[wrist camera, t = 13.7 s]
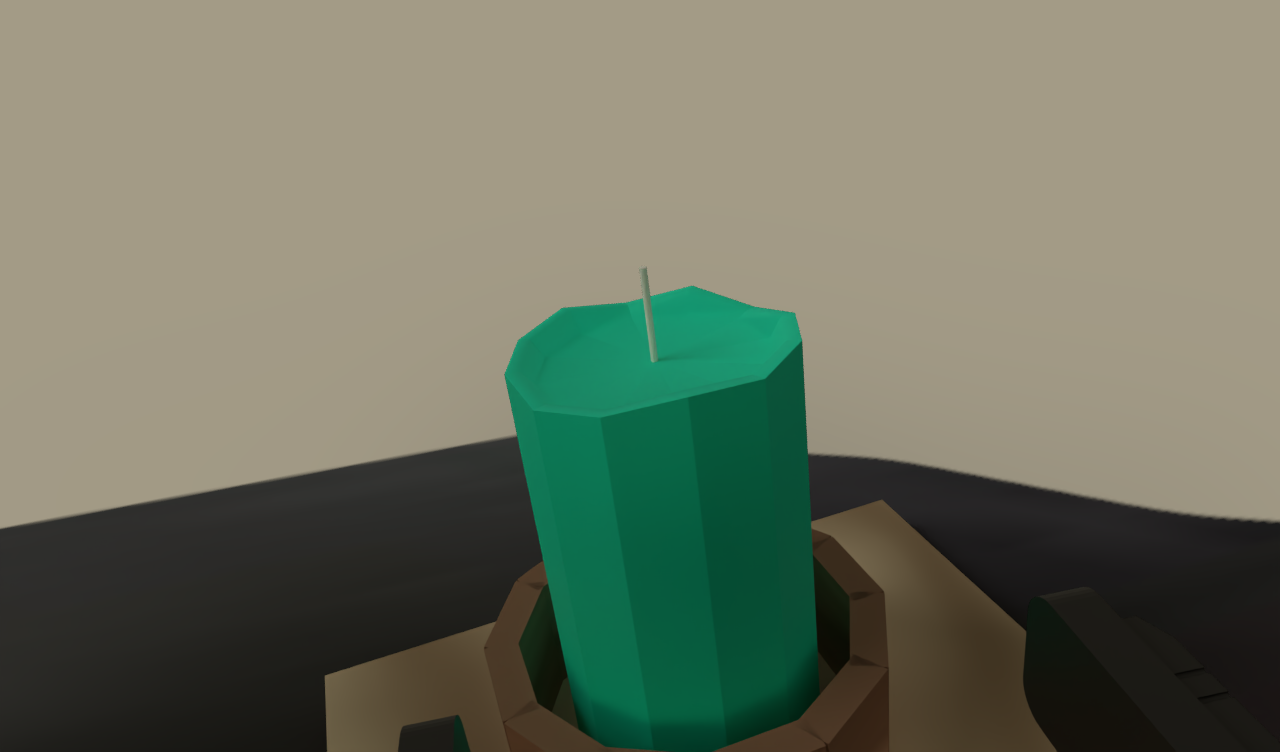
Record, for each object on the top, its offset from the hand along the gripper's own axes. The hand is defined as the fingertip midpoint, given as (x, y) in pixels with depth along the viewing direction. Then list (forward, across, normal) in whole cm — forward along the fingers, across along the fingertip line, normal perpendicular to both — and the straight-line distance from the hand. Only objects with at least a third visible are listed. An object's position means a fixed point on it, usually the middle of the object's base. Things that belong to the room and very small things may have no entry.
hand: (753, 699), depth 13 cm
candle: (+8, 0, +8) cm, 11 cm away
